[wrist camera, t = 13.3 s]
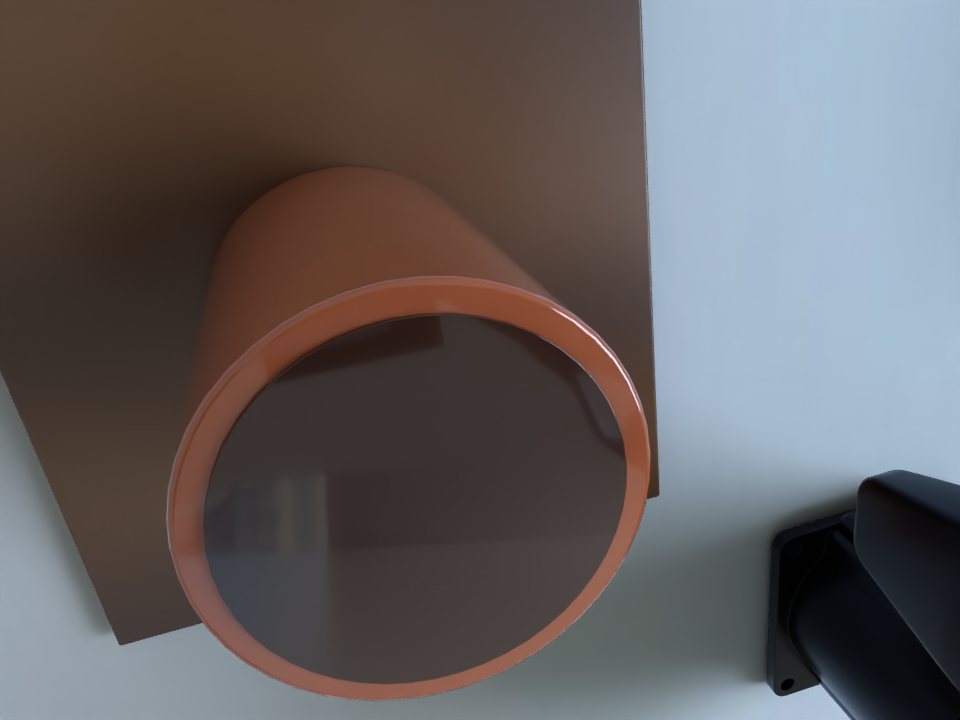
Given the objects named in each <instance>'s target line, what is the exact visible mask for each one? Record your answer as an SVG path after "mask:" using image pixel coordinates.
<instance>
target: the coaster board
mask: <svg viewBox="0 0 960 720" xmlns="http://www.w3.org/2000/svg"><path fill="white" fill-rule="evenodd" d="M343 166H355V167H370V168H376V169H383V170H387V171H390V172H394V173H397V174H400V175H403V176H406V177H408V178H410V179H412V180H414V181H417V182H419V183H421V184H422V185H424V186H426V187H427V188H429V189H431V190H432V191H434V192H435V193H437V194H438V195H439V196H440V197H442V198H443V199H444V200H445V201H446V202H448V203H449V204H450V205H451V206H452V207H453V208H455V209H456V210H457V211H458V212H459V213H460V214H461V215H463V216H464V217H465V218H466V219H467V220H468V221H469V222H471V223H472V224H473V225H474V226H475V227H476V228H477V229H479V230H480V231H481V232H482V233H483V234H484V235H485V236H487V237H488V238H489V239H490V240H491V241H492V242H493V243H495V244H496V245H497V246H498V247H499V248H500V249H501V250H503V251H504V252H505V253H506V254H507V255H508V256H509V257H511V258H512V259H513V260H514V261H515V262H516V263H517V264H519V265H520V266H521V267H522V268H523V269H524V270H525V271H527V272H528V273H529V274H530V275H531V276H532V277H533V278H535V279H536V280H537V281H538V282H539V283H540V284H541V285H543V286H544V287H545V288H546V289H547V290H548V291H549V292H551V293H552V294H553V295H554V296H555V297H556V298H557V299H559V300H560V301H561V302H562V303H563V304H564V305H565V306H567V307H568V308H569V309H570V310H571V311H572V312H573V313H575V314H576V315H577V316H578V317H579V318H580V319H581V320H583V321H584V322H585V323H586V324H587V325H588V326H589V327H591V328H592V329H593V330H594V331H595V332H596V333H597V334H598V335H599V336H600V337H601V338H602V339H603V341H604V342H605V343H606V344H607V345H608V346H609V347H610V348H611V349H612V351H613V352H614V353H615V354H616V356H617V357H618V359H619V360H620V362H621V363H622V365H623V367H624V368H625V370H626V371H627V373H628V374H629V376H630V378H631V380H632V383H633V385H634V387H635V389H636V392H637V394H638V396H639V398H640V401H641V405H642V408H643V412H644V416H645V419H646V423H647V429H648V438H649V446H650V480H649V486H648V492H647V498H646V499H650V498H653V497H657V496H659V471H658V444H657V417H656V390H655V363H654V336H653V309H652V282H651V256H650V229H649V202H648V175H647V148H646V121H645V94H644V67H643V40H642V14H641V0H0V371H1V374H2V376H3V378H4V381H5V383H6V385H7V387H8V390H9V392H10V394H11V397H12V399H13V401H14V404H15V406H16V408H17V411H18V413H19V415H20V417H21V420H22V422H23V424H24V427H25V429H26V431H27V434H28V436H29V438H30V440H31V443H32V445H33V447H34V450H35V452H36V454H37V457H38V459H39V461H40V464H41V466H42V468H43V470H44V473H45V475H46V477H47V480H48V482H49V484H50V487H51V489H52V491H53V493H54V496H55V498H56V500H57V503H58V505H59V507H60V510H61V512H62V514H63V517H64V519H65V521H66V523H67V526H68V528H69V530H70V533H71V535H72V537H73V540H74V542H75V544H76V547H77V549H78V551H79V553H80V556H81V558H82V560H83V563H84V565H85V567H86V570H87V572H88V574H89V576H90V579H91V581H92V583H93V586H94V588H95V590H96V593H97V595H98V597H99V600H100V602H101V604H102V606H103V609H104V611H105V613H106V616H107V618H108V620H109V623H110V625H111V627H112V629H113V632H114V634H115V636H116V639H117V641H118V643H119V645H124V644H128V643H132V642H135V641H139V640H142V639H146V638H150V637H153V636H157V635H160V634H164V633H168V632H171V631H175V630H178V629H182V628H186V627H189V626H193V625H196V624H200V623H203V621H202V620H201V619H200V617H199V616H198V614H197V613H196V611H195V610H194V608H193V607H192V606H191V604H190V603H189V601H188V599H187V597H186V594H185V592H184V590H183V588H182V586H181V584H180V582H179V580H178V577H177V575H176V571H175V568H174V564H173V560H172V557H171V553H170V550H169V542H168V533H167V524H166V513H167V495H168V486H169V481H170V476H171V471H172V466H173V460H174V455H175V450H176V445H177V440H178V435H179V430H180V425H181V419H182V414H183V409H184V404H185V399H186V394H187V389H188V384H189V378H190V373H191V368H192V363H193V358H194V353H195V348H196V343H197V337H198V332H199V327H200V322H201V317H202V312H203V307H204V302H205V296H206V291H207V286H208V282H209V277H210V272H211V268H212V265H213V262H214V260H215V257H216V254H217V252H218V249H219V247H220V245H221V244H222V242H223V240H224V238H225V236H226V234H227V233H228V231H229V230H230V229H231V227H232V226H233V225H234V223H235V222H236V221H237V219H238V218H239V217H240V216H241V215H242V214H243V213H244V212H245V211H246V210H247V209H248V208H249V207H250V206H251V205H252V204H253V203H254V202H255V201H256V200H258V199H259V198H260V197H262V196H263V195H264V194H265V193H267V192H268V191H269V190H271V189H273V188H275V187H277V186H278V185H280V184H282V183H284V182H286V181H287V180H290V179H293V178H295V177H298V176H300V175H303V174H305V173H309V172H313V171H317V170H321V169H325V168H334V167H343Z"/></svg>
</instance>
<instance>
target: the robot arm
mask: <svg viewBox="0 0 960 720" xmlns="http://www.w3.org/2000/svg"><path fill="white" fill-rule="evenodd" d="M789 547H790V548H789ZM767 684H768V685H769V686H770V688H771V689H772V690H773V691H774V693H775V694H776V695H778V696H786V695H789V694H792V693H795V692H798V691H801V690H804V689H807V688H810V687H812V686H815V685H818V684H821V686H822V687H823V688H824V689H825V690H826V691H827V692H828V694H829V695H830V696H831V697H832V698H833V699H834V700H835V702H836V703H837V704H838V705H839V706H840V707H841V709H842V710H843V711H844V712H845V713H846V714H847V715H848V717H849V718H850V719H851V720H960V485H957V484H953V483H949V482H946V481H942V480H938V479H935V478H931V477H927V476H923V475H920V474H916V473H912V472H909V471H904V470H892V471H888V472H885V473H882V474H878V475H875V476H871V477H868V478H866V479H865V480H863V481H862V483H861V485H860V486H859V489H858V496H857V507H856V509H853V510H850V511H847V512H843V513H840V514H837V515H833V516H830V517H826V518H823V519H820V520H816V521H813V522H810V523H806V524H803V525H799V526H796V527H793V528H789V529H786V530H784V531H782V532H781V533H779V534H778V535H777V536H776V537H775V539H774V541H773V543H772V547H771V574H770V600H769V627H768V653H767Z"/></svg>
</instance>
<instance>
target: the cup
mask: <svg viewBox="0 0 960 720" xmlns="http://www.w3.org/2000/svg"><path fill="white" fill-rule="evenodd" d="M649 480H650V446H649V438H648V429H647V423H646V419H645V416H644V412H643V408H642V405H641V401H640V398H639V396H638V394H637V392H636V389H635V387H634V385H633V383H632V380H631V378H630V376H629V374H628V373H627V371H626V370H625V368H624V367H623V365H622V363H621V362H620V360H619V359H618V357H617V356H616V354H615V353H614V352H613V351H612V349H611V348H610V347H609V346H608V345H607V344H606V343H605V342H604V341H603V339H602V338H601V337H600V336H599V335H598V334H597V333H596V332H595V331H594V330H593V329H592V328H591V327H589V326H588V325H587V324H586V323H585V322H584V321H583V320H581V319H580V318H579V317H578V316H577V315H576V314H575V313H573V312H572V311H571V310H570V309H569V308H568V307H567V306H565V305H564V304H563V303H562V302H561V301H560V300H559V299H557V298H556V297H555V296H554V295H553V294H552V293H551V292H549V291H548V290H547V289H546V288H545V287H544V286H543V285H541V284H540V283H539V282H538V281H537V280H536V279H535V278H533V277H532V276H531V275H530V274H529V273H528V272H527V271H525V270H524V269H523V268H522V267H521V266H520V265H519V264H517V263H516V262H515V261H514V260H513V259H512V258H511V257H509V256H508V255H507V254H506V253H505V252H504V251H503V250H501V249H500V248H499V247H498V246H497V245H496V244H495V243H493V242H492V241H491V240H490V239H489V238H488V237H487V236H485V235H484V234H483V233H482V232H481V231H480V230H479V229H477V228H476V227H475V226H474V225H473V224H472V223H471V222H469V221H468V220H467V219H466V218H465V217H464V216H463V215H461V214H460V213H459V212H458V211H457V210H456V209H455V208H453V207H452V206H451V205H450V204H449V203H448V202H446V201H445V200H444V199H443V198H442V197H440V196H439V195H438V194H437V193H435V192H434V191H432V190H431V189H429V188H427V187H426V186H424V185H422V184H421V183H419V182H417V181H414V180H412V179H410V178H408V177H406V176H403V175H400V174H397V173H394V172H390V171H387V170H383V169H376V168H370V167H355V166H343V167H334V168H325V169H321V170H317V171H313V172H309V173H305V174H303V175H300V176H298V177H295V178H293V179H290V180H287V181H286V182H284V183H282V184H280V185H278V186H277V187H275V188H273V189H271V190H269V191H268V192H267V193H265V194H264V195H263V196H262V197H260V198H259V199H258V200H256V201H255V202H254V203H253V204H252V205H251V206H250V207H249V208H248V209H247V210H246V211H245V212H244V213H243V214H242V215H241V216H240V217H239V218H238V219H237V221H236V222H235V223H234V225H233V226H232V227H231V229H230V230H229V231H228V233H227V234H226V236H225V238H224V240H223V242H222V244H221V245H220V247H219V249H218V252H217V254H216V257H215V260H214V262H213V265H212V268H211V272H210V277H209V282H208V286H207V291H206V296H205V302H204V307H203V312H202V317H201V322H200V327H199V332H198V337H197V343H196V348H195V353H194V358H193V363H192V368H191V373H190V378H189V384H188V389H187V394H186V399H185V404H184V409H183V414H182V419H181V425H180V430H179V435H178V440H177V445H176V450H175V455H174V460H173V466H172V471H171V476H170V481H169V486H168V495H167V513H166V524H167V533H168V542H169V550H170V553H171V557H172V560H173V564H174V568H175V571H176V575H177V577H178V580H179V582H180V584H181V586H182V588H183V590H184V592H185V594H186V597H187V599H188V601H189V603H190V604H191V606H192V607H193V608H194V610H195V611H196V613H197V614H198V616H199V617H200V619H201V620H202V621H203V623H204V624H205V626H206V627H207V628H208V629H209V630H210V631H211V632H212V634H213V635H214V636H215V637H216V638H217V639H218V640H219V641H220V642H221V643H222V644H223V645H224V646H225V647H226V648H227V649H229V650H230V651H231V652H232V653H234V654H235V655H236V656H237V657H239V658H240V659H241V660H243V661H244V662H245V663H246V664H248V665H250V666H252V667H253V668H255V669H257V670H259V671H260V672H262V673H264V674H265V675H267V676H269V677H271V678H273V679H276V680H278V681H280V682H283V683H285V684H288V685H290V686H292V687H295V688H298V689H302V690H305V691H309V692H312V693H316V694H320V695H324V696H330V697H337V698H343V699H350V700H370V701H385V700H402V699H411V698H418V697H424V696H430V695H436V694H439V693H443V692H447V691H451V690H455V689H459V688H462V687H465V686H468V685H470V684H473V683H476V682H479V681H481V680H484V679H487V678H489V677H491V676H494V675H496V674H498V673H500V672H502V671H504V670H506V669H508V668H510V667H512V666H514V665H516V664H518V663H519V662H521V661H523V660H524V659H526V658H528V657H529V656H531V655H533V654H534V653H536V652H538V651H539V650H540V649H542V648H543V647H545V646H546V645H547V644H549V643H550V642H551V641H553V640H554V639H555V638H557V637H558V636H560V635H561V634H562V633H563V632H564V631H565V630H566V629H567V628H569V627H570V626H571V625H572V624H573V623H574V622H575V621H576V620H577V619H579V618H580V617H581V616H582V615H583V613H584V612H585V611H586V610H587V609H588V608H589V607H590V606H591V605H592V604H593V602H594V601H595V600H596V599H597V598H598V597H599V596H600V594H601V593H602V592H603V590H604V589H605V588H606V586H607V585H608V583H609V582H610V581H611V579H612V578H613V577H614V575H615V574H616V572H617V570H618V568H619V567H620V565H621V563H622V562H623V560H624V558H625V556H626V555H627V553H628V551H629V548H630V546H631V544H632V542H633V539H634V537H635V535H636V532H637V530H638V527H639V524H640V521H641V517H642V514H643V511H644V507H645V504H646V498H647V492H648V486H649Z"/></svg>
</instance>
